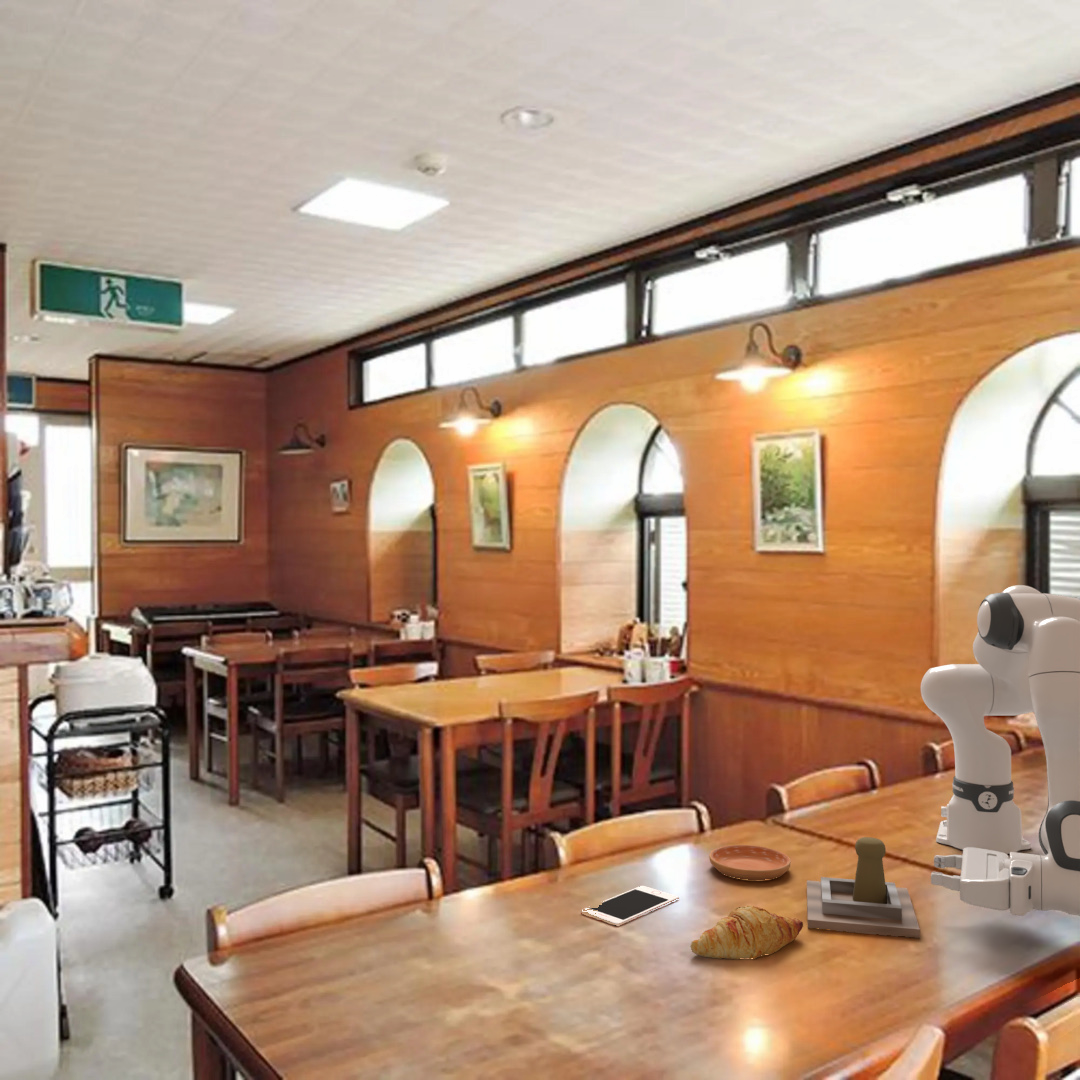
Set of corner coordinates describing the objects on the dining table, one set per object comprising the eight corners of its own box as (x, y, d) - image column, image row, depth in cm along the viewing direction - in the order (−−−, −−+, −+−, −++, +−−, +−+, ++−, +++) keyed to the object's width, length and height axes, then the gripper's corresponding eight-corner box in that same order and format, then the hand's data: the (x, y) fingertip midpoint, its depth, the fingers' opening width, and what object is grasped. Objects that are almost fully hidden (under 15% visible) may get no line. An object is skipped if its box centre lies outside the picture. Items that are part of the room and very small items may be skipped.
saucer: (797, 864, 206) (797, 850, 206) (781, 890, 192) (781, 874, 192) (720, 854, 213) (720, 840, 213) (699, 878, 198) (699, 863, 198)
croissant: (702, 988, 158) (714, 952, 155) (671, 937, 166) (682, 902, 163) (811, 961, 167) (825, 927, 163) (777, 914, 175) (790, 880, 171)
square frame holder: (806, 888, 192) (806, 869, 192) (907, 896, 187) (907, 877, 187) (807, 928, 173) (807, 907, 172) (919, 938, 168) (919, 917, 168)
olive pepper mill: (891, 906, 178) (892, 844, 178) (856, 905, 179) (856, 843, 179) (883, 894, 184) (883, 834, 184) (849, 893, 185) (849, 833, 185)
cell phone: (680, 901, 186) (680, 896, 186) (617, 929, 174) (617, 923, 174) (642, 889, 193) (642, 884, 193) (579, 915, 180) (579, 910, 180)
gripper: (1019, 843, 179) (935, 834, 184) (1022, 880, 160) (929, 868, 166) (1019, 879, 179) (935, 868, 185) (1022, 920, 160) (929, 907, 166)
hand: (932, 869), depth 175 cm, fingers open, 8 cm apart
